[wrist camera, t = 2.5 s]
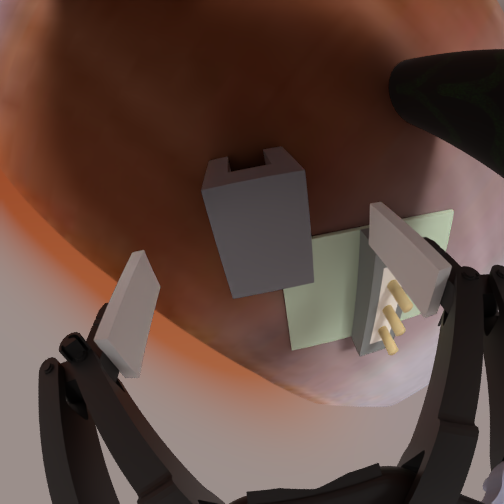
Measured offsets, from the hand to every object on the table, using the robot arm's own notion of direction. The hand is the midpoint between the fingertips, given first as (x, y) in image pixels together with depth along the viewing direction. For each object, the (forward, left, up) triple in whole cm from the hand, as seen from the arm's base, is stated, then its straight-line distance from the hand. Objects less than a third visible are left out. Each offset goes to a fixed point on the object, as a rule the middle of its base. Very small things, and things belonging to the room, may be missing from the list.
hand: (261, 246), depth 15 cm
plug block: (0, 0, -6) cm, 6 cm away
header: (+11, +10, -6) cm, 16 cm away
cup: (-7, +14, -6) cm, 17 cm away
